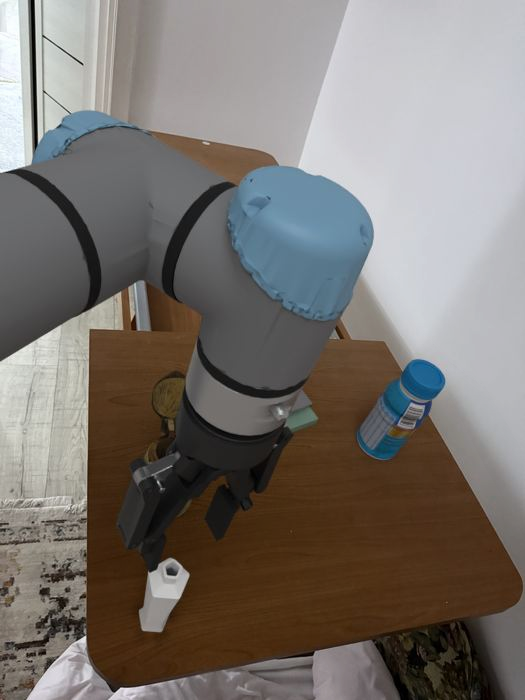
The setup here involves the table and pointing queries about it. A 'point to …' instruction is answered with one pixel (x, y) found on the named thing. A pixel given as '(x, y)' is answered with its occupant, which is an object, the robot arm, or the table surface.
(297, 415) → the scale
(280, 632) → the table surface
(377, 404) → the beverage bottle
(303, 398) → the scale plate
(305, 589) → the table surface
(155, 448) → the wooden mug
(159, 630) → the white faceted vase
